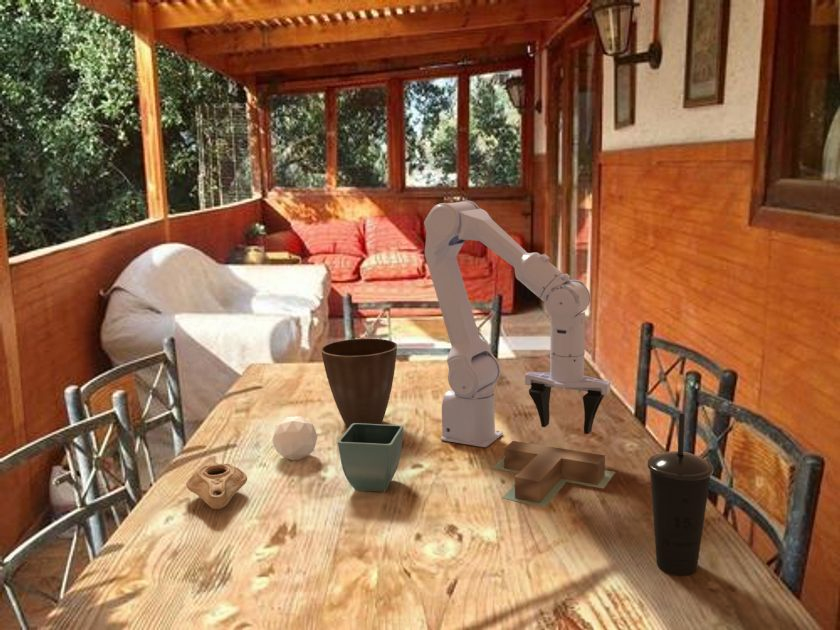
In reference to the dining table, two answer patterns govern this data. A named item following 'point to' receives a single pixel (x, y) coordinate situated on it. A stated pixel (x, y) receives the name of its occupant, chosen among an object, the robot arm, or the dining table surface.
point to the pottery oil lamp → (216, 483)
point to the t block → (549, 468)
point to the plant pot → (360, 377)
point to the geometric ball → (294, 438)
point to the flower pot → (370, 455)
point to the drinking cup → (679, 506)
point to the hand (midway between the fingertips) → (566, 428)
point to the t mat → (511, 493)
